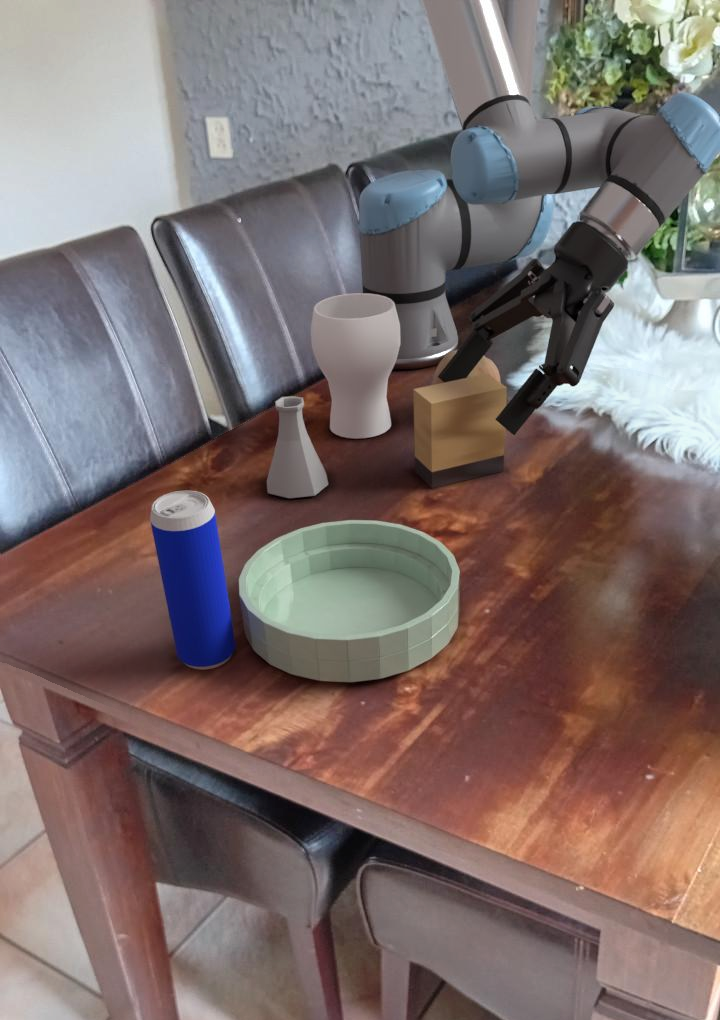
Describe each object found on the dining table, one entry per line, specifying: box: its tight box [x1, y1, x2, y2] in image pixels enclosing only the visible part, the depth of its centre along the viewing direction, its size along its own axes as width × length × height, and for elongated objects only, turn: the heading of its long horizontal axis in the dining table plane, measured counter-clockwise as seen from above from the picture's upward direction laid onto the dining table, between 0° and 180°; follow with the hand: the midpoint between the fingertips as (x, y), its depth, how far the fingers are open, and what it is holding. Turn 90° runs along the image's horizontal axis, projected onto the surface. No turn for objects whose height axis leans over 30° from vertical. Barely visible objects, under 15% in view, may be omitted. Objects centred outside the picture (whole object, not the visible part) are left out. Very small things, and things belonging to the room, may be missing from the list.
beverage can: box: [149, 490, 237, 671], centre depth 84 cm, size 5×5×15 cm
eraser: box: [413, 374, 508, 489], centre depth 111 cm, size 9×4×10 cm, turn 112°
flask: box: [266, 395, 329, 499], centre depth 110 cm, size 7×7×10 cm
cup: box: [310, 292, 401, 440], centre depth 121 cm, size 11×11×15 cm
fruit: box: [432, 350, 502, 385], centre depth 124 cm, size 8×8×8 cm
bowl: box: [238, 519, 461, 683], centre depth 90 cm, size 19×19×5 cm
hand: (473, 405), depth 110 cm, fingers open, 13 cm apart
